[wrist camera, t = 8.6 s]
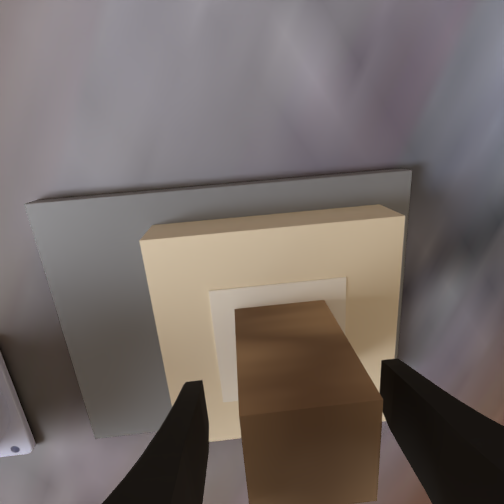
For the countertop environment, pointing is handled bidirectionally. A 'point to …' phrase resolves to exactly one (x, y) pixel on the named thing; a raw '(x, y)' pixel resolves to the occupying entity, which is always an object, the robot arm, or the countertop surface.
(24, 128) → the countertop surface
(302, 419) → the walnut block
